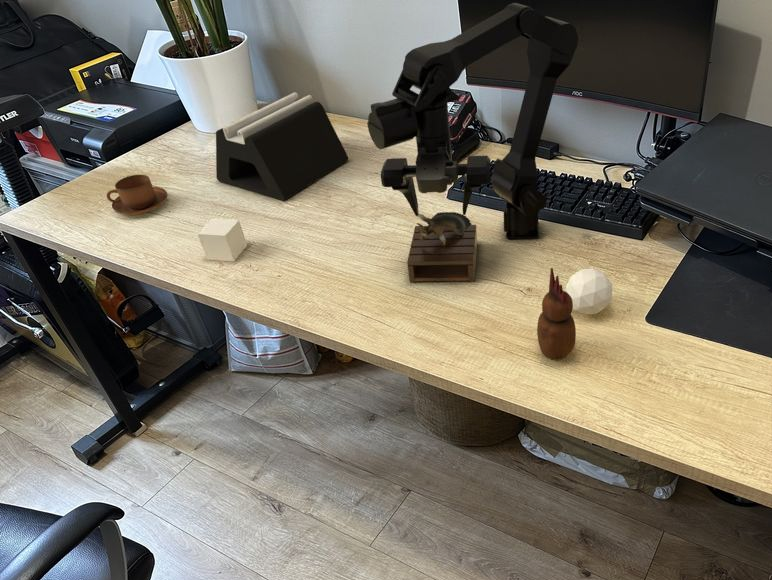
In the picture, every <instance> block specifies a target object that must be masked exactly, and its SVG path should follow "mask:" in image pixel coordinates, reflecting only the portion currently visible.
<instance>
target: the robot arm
mask: <svg viewBox="0 0 772 580" xmlns="http://www.w3.org/2000/svg"><path fill="white" fill-rule="evenodd" d="M576 28H577V27H576V26H575V25H573V24H571V23H569V22H566V21H563V20H560V19H557V18H553V17H550V16H544V15H542V14H540V13H539V12H537V11H535V10H534V9H533V8H532V7H530V6H528V5H524V4H520V3H518V2H511V3H510V4H507V5H506V6H505V7H504V9H502V10H500V11H499V12H497V13H495V14H493V15H492V16H490V17H488V18H486V19H484V20H483V21H480V22H479V23H477V24H476V25H473V26H472V27H470V28H469V29H467V30H465V31H463V32H461V33H460V34H458V35H456V36H455V37H453V38H451V39H448V40H445V41H444V40H443V41H439V42H437V41H436V42H431V43H427V44H425V45H424V44H423V45H421V46H418V47H415V48H413V49H411V50H410V51H408V52H407V53H406V54H405V56H404V61H403V63H402V70H401V72H400V74H399V77H398V79H397V81H396V83H395V85H394V88H393V91H392V92H391V96H392V97H394V98H393V99H389V100H387V101H381V102H375V103H372V104H370V113H369V114H368V117H367V118H368V119H367V122H366V124H367V130H368V134H369V136H370V139H371V140H372V143H373V144H374V145H375V147H376V148H377V149H378V150H384V149H387V148H390V147H394V146H396V145H400V144H402V143H403V144H404V143H407V142H409V141H412V140H414V139H415V142H416V151H417V155H416V159H415V164H408V159H407V158H406V157H398V158H395V157H394V158H386V159H385V160H384V161H383V164H382V167H381V170H380V181H381V186H382V187H383V188H391V189H392V190H393V191H397V192H399V193H401V194H402V195H403V196H404V198H405V199H406V201H407V203H408V205H409V206H410V208H411V210H412V212H413V213H414V215H415V217H417V216H418V215H419V214H420V211H419V202H418V198H417V192H416V186H415V182H414V178H415V179H416V180H415V181H416V184H417V189H418V192H419V193H420V194H427V193H438V194H442V193H445V192H447V190H448V186H452V185H453V183H458V182H459V176H464V184H463V196H462V197H463V198H462V215H464V216H466V214H467V210H468V206H469V203H470V199H471V197H472V194H473V193H474V191H475V189H480V188H481V187H482V185H488V184H491V187H492V188H493V190H494V193H496V194H497V195H498V196H499V198H500V199H501V200H502V201H504V202H505V203H506V207H503V231H504V233H505V238H506V239H507V240H523V239H525V240H526V239H532V240H533V239H539V238H540V230H539V227H540V226H539V213H540V212H541V210H544V209H545V208H546V205H547V202H548V197H547V196H546V195H544V194H543V193H542V192H541V191H539V190H537V187H538V180H539V174H538V168H537V162H536V157H537V153H538V150H539V146H540V142H541V139H542V135H543V131H544V128H545V124H546V120H547V116H548V115H549V111H550V106H551V103H552V100H553V99H552V98H553V96H554V92H555V88H556V84H557V81H558V79H559V78H560V76H561V75H562V74H563V73H564V72H565V71H566V70H567V69H568V67H569V66H570V65H571V63H572V61H573V58H574V56H575V54H576V50H577V48H578V45H579V39H580V35H579V34H578V32H577V29H576ZM519 37H522V38H525V39H526V40H527V47H526V56H527V61H528V67H529V74H528V79H527V82H526V85H525V90H524V94H523V98H522V102H521V106H520V109H519V114H518V118H517V121H516V125H515V130H514V133H513V137H512V140H511V145H510V149H509V151H508V153H506V155H505V156H504V157H503V158H502V159H500V158H496V160H495V162H494V167H493V172H492V163H491V162H492V161H491V158H490V157H489V156H488V155H467V160H466V163H458V162H457V160H453V156H452V154H453V153H452V142H451V131H450V129H451V128H450V117H449V116H450V115H449V106H448V105H449V103H452V102H455V101H458V100H459V99H460V95H458V94H457V93H455V92H454V91H453V90H452V89H451V87H452V85H454V84H455V83H456V82H457V81H458V80H459V78H460V77H461V75H462V73H463V72H464V70H465V69H467V68H468V67H469V66H471V65H473V64H474V63H476V62H478V61H480V60H481V59H483V58H485V57H487V56H488V55H490V54H492V53H493V52H495V51H497V50H499V49H500V48H502V47H504V46H505V45H507V44H509V43H511V42H512V41H515V40H516V39H518V38H519ZM413 87H414V88H416V89H418V90H420V92H419V93H418V92H416V91H414V90H412V88H413ZM491 173H492V174H491ZM491 180H492V182H491Z"/></svg>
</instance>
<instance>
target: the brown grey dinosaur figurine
mask: <svg viewBox="0 0 772 580" xmlns="http://www.w3.org/2000/svg"><path fill="white" fill-rule="evenodd" d="M416 217H417V218H418V219H420V220H421V221H422V222H425V223H426V225H423V224H422V223H419V222H417V223H416V226H420V229H421V230H420V229H418V228H417V230H418V231H419V232H420V234H421V238H420V240H424V239H426V237H427V236H428V235H429V234H430V233H434V234H435V235H436V236H437V237H438V238H439V239H440V240H441V241H442V242H443V245H445V242H446V240H445V237H444V235H443V231H444V230H447V231H451V232H455V233H457V234H459V235H462V234H464V233H463V232H464V231H463V230H465V229H468V227H470V225H472V222H471V220H470V219H469V217H467V216H466V215H463V213H459V212H455V211H443V212H437V213H435V215H433V216H432V217H431V218H430V217H427V216H425V215H424V214H421V213H419V215H418V216H416ZM423 226H425V227H423ZM426 226H427V227H426Z"/></svg>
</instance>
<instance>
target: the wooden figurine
mask: <svg viewBox="0 0 772 580" xmlns="http://www.w3.org/2000/svg"><path fill="white" fill-rule="evenodd" d="M541 311H542V312H541V313H540V314H539V316H538V320H537V325H536V327H537V328H536V334H537V341H538V346H539V349H540V351H541V353H542V354H543V355H544V356H545V357H546V358H548V359H550V360H554V361H559V360H562V359H566V358H567V357H568V356H569V355H570V354H571V353H572V351H573V349H574V348H575V344H576V339H577V337H576V335H577V331H576V329H577V328H576V324H575V319H574V317H573V315H572V314H573V311H574V309H573V302H572V298H571V296H570V295H569V294H568V293H567V292H566V290H563V285H562V284H560V280H559V275H556V276H555V273H554V268H553V267H550V272H549V284H548V292H547V293H546V294H544V295H543V298H542V302H541Z"/></svg>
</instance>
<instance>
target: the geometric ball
mask: <svg viewBox="0 0 772 580" xmlns="http://www.w3.org/2000/svg"><path fill="white" fill-rule="evenodd" d="M565 292H567V293H568V294H569V295H570V296H571V298H572V302H573V311H575V312H579V313H581V314H583V315H597V314H598V313H600V312H602V311H603V310H604V309H606V308H607V307H608V306H609V304H610V302H611V300H612V297H613V283H612V281H611V280H610V278H609V277H608V276H607V274H606V273H605V272H603V271H601V270H599V269H596V268H581V269H580V270H578V271H577V272H575V273H574V274H572V275H571V276H570V278H569V280H568V283H567V284H566V287H565Z"/></svg>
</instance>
